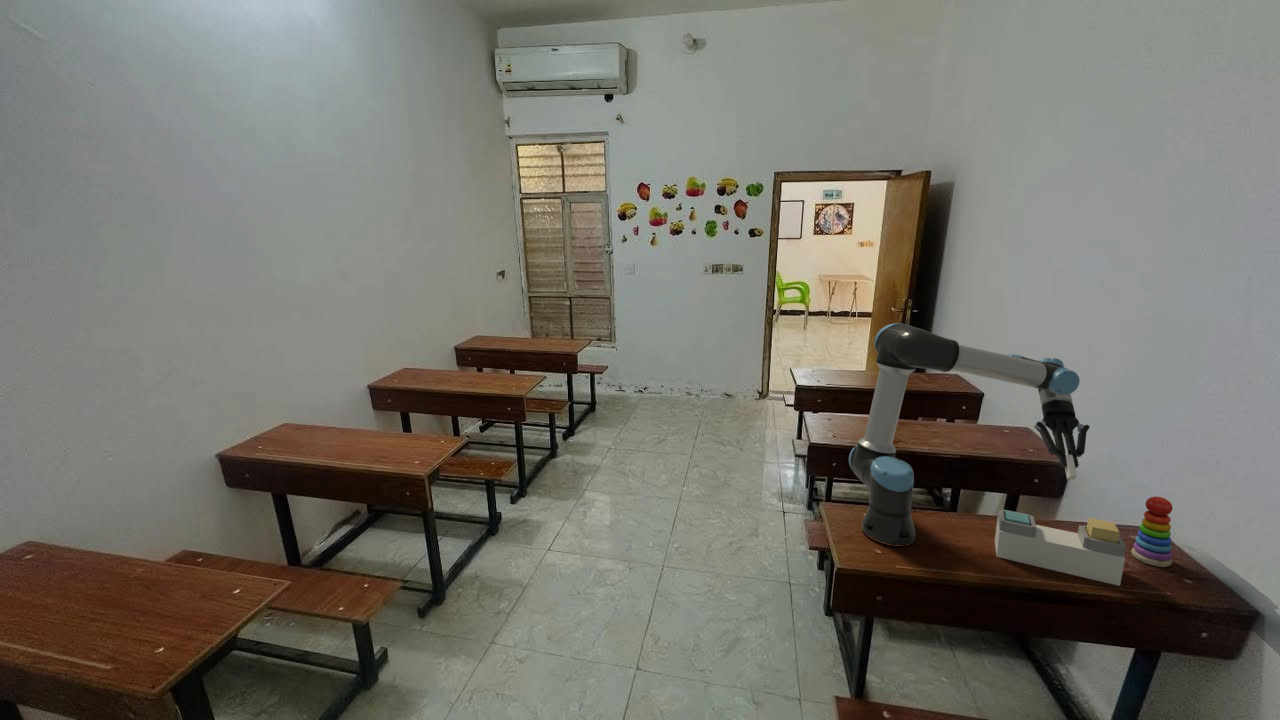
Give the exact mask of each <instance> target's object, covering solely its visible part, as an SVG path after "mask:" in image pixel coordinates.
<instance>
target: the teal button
mask: <svg viewBox="0 0 1280 720" xmlns="http://www.w3.org/2000/svg"><path fill="white" fill-rule="evenodd" d="M1004 510H1005V517H1004V518H1005V521H1010V522H1015V523H1020V524H1025V525H1030V521H1029V518H1028V515H1027V514H1028V513H1024V514H1021V513H1022V512H1019V513H1016V512H1017V511H1014V512H1011V511H1012V510H1008V511H1006V510H1007V509H1004Z"/></svg>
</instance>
